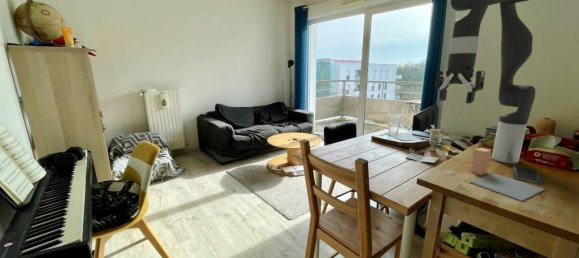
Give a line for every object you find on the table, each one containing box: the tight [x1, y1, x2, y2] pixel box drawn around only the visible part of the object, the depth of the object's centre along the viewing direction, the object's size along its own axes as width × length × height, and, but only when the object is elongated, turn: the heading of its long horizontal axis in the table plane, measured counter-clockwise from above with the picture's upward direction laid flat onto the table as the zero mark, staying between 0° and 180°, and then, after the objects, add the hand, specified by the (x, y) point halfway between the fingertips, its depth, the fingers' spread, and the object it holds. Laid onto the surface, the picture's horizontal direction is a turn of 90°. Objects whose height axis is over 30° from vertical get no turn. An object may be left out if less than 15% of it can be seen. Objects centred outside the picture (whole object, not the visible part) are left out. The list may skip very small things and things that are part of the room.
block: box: [470, 147, 492, 176], centre depth 98 cm, size 4×4×10 cm
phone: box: [511, 165, 543, 185], centre depth 96 cm, size 8×1×15 cm
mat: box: [469, 172, 546, 202], centre depth 88 cm, size 16×15×1 cm
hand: (455, 101), depth 85 cm, fingers open, 8 cm apart
